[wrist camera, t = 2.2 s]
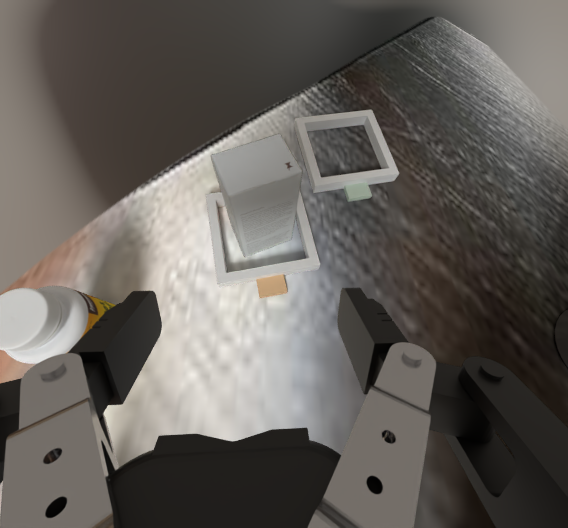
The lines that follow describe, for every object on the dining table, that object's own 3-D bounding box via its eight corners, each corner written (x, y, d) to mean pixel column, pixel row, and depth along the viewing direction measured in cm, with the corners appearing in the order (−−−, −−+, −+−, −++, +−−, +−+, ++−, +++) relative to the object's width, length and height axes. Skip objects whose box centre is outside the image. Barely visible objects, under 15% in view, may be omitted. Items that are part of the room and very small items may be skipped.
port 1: (296, 188, 33) (297, 181, 32) (322, 286, 29) (325, 282, 28) (208, 201, 32) (205, 194, 31) (222, 305, 28) (219, 302, 26)
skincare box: (277, 211, 32) (282, 130, 21) (292, 240, 31) (305, 171, 20) (230, 228, 31) (208, 152, 20) (243, 259, 30) (228, 198, 18)
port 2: (367, 118, 38) (371, 109, 37) (399, 193, 34) (404, 186, 32) (294, 127, 37) (295, 118, 35) (317, 206, 33) (319, 199, 31)
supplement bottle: (148, 322, 27) (80, 301, 17) (109, 374, 25) (10, 383, 15) (104, 295, 27) (16, 261, 18) (64, 344, 26) (-58, 334, 16)
